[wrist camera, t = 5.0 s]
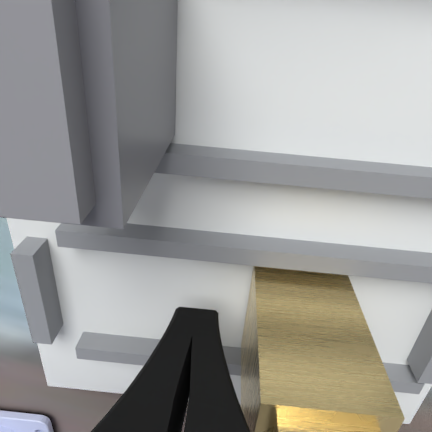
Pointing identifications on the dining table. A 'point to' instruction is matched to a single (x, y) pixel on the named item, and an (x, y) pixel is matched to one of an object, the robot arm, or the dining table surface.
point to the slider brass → (311, 358)
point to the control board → (259, 193)
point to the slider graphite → (84, 106)
